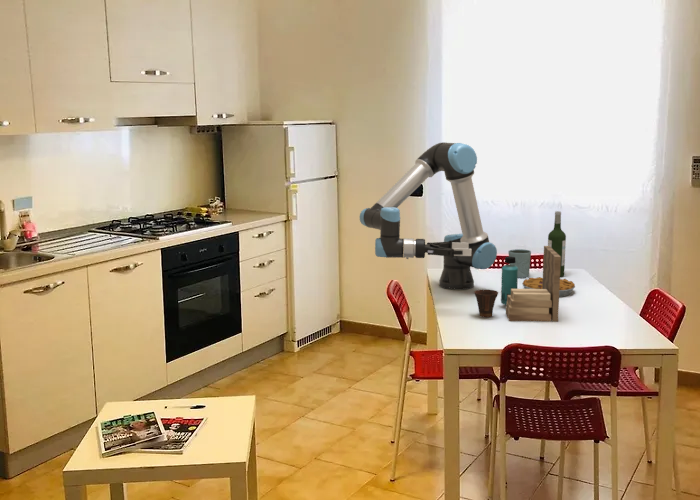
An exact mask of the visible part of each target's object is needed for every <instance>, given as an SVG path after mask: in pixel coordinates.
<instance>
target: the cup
mask: <svg viewBox="0 0 700 500" xmlns="http://www.w3.org/2000/svg"><path fill="white" fill-rule="evenodd" d="M473 294H474V297H475V298H476V302H477V306H478V309H477V310H478V315H479V317H480V318H484V319H485V318H492V317H493V311H494V306H495V303H496V299H497V298H498V295H499V292H498V290H494V289H486V288H485V289H483V288H482V289H478V290H474V291H473Z"/></svg>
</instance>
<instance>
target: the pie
mask: <svg viewBox="0 0 700 500" xmlns="http://www.w3.org/2000/svg"><path fill="white" fill-rule="evenodd" d="M542 284H543V277H541V276H540V277H539V276H537V277H535V278H534V277H528V278H524V280H523V282H522V283H521V285H522V287H524V288H523V289H542ZM575 288H576V286H575V283H574V282H573V281H572V280H570V281H569V280H568V279H566V278H564V279H562V278H560V288H559V298H563V297H567V296H570V295H571V294H572V292H573V291H574V289H575Z"/></svg>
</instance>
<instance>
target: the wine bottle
mask: <svg viewBox="0 0 700 500" xmlns="http://www.w3.org/2000/svg"><path fill="white" fill-rule="evenodd" d="M553 224H554V225H553V229H552V230H550V232H549V233H548V235H547V246H550V247H551V248H552V249H553V250H554V251H555V252H556V253H557V254H558V255H559V256H561V266H560V278H563V277H565V263H566V247H567V246H566V245H567V244H566V242H567V241H566V240H567V235H566V233H565V232H564V231H563V230H562V212H561V211H559V210H558V211H557V210H555V211H554V223H553Z"/></svg>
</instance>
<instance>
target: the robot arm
mask: <svg viewBox="0 0 700 500" xmlns="http://www.w3.org/2000/svg"><path fill="white" fill-rule="evenodd" d="M477 164H478V157H477V153H476V150H475V149H474V148H473V147H472V146H471V145H469V144H467V143H462V142H439V143H435V144H433V145H432V146H430V147H429V148H427V150H426V151H424V152H423V153H422V154H421V155H420V156H419V157H417V159H416V160H415V163H414V165H413V166H412V167H411V168H410V169H409V170H408V171H407V172H406V173H405V174H404V175H403V176H402V177H401V178H400V179H399V180H398V181H396V183H395V184H393V185H392V186H391V188H390V189H389V190H387V192H386V193H384V194H383V195H382V196H381V197H380V198H379V200H378V201H376V202H375V203H374V204H373V205H372V206H371V207H367V208H364V209H362V210H361V211H360V213H359V223H361V225H362V226H364V227H366V228H370V229H375V230H378V231H380V232H379V233H380V236H379V237H378V238H375V242H374V245H375V247H374V253H375V255H374V256H376V257H377V258H387V259H388V258H389V259H390V258H392V259H395V258H405V260H409V259H413V258H414V257H415V258H416V259H424V258H425V257H426V254H427V255H428V256H439V257H443V269H442V271H441V274H440V278H439V281H438V282H439V283H438V285H439V287H441V288H442V289H446V290H447V289H448V290H469V289H472V288H474V287H475V279H474V276H473V273H472V270H471V268H474V269H476V270H487V269H488V268H490V267H492V266H493V264H494V263H495V261H496V259H497V255H498V249H497V247H496V245H495V244H493V242H490V240H489V234H488V233H487V232H485V231H484V229H483V224H482V219H481V215H480V211H479V205H478V201H477V196H476V192H475V188H474V183H473V175H475V169H476V167H477V166H476V165H477ZM439 172H444V177H445V180H446V181H447V182H449V183H450V185H451V190H452V196H453V198H454V199H453V200H454V203H455V207H456V212H457V215H458V216H457V217H458V220H459V225H460V230H461V233H453V234H452V233H451V234H447V235H445V236H444V238H443V241H437V242H435V241H434V242H426V239H425V238H416V239H415V238H412V237H411V238H406V237H404V238H400V236H401V235H400V234H401V233H400V230H401V229H400V227H401V212H400V208H399V206H401V205H402V204H403V203H404V202H405V200H407V199H408V198H409V197H410V196H411V194H413V193H414V192H415V191H416V190H417V189H418V188H419V187H420V186H421V185H422V184H423V183H424V182H425V181H426V180H427V179H428V178H432V177H433V176H434V175H435V174H437V173H439Z"/></svg>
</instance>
